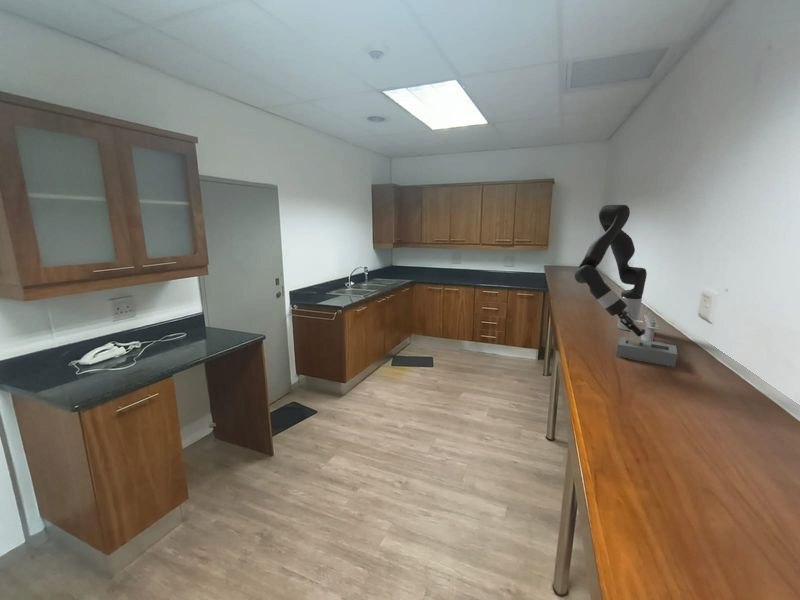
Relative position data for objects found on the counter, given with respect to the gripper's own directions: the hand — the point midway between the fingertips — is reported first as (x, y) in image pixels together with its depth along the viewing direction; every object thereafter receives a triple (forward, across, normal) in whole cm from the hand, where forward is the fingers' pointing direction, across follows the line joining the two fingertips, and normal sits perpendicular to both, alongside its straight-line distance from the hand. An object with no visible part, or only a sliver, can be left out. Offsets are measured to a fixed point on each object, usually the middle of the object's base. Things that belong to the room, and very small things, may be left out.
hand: (641, 334), depth 147 cm
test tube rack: (+9, +21, +5) cm, 24 cm away
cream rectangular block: (+4, 0, +7) cm, 8 cm away
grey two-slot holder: (+9, 0, +5) cm, 10 cm away
